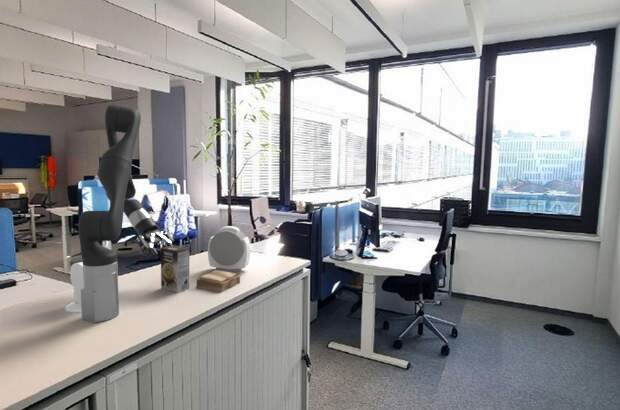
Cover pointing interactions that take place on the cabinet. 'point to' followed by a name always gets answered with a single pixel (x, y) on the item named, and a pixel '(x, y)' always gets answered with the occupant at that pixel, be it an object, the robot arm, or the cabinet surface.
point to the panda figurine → (76, 285)
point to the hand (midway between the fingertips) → (165, 254)
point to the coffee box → (175, 268)
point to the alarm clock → (229, 250)
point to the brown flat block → (218, 280)
